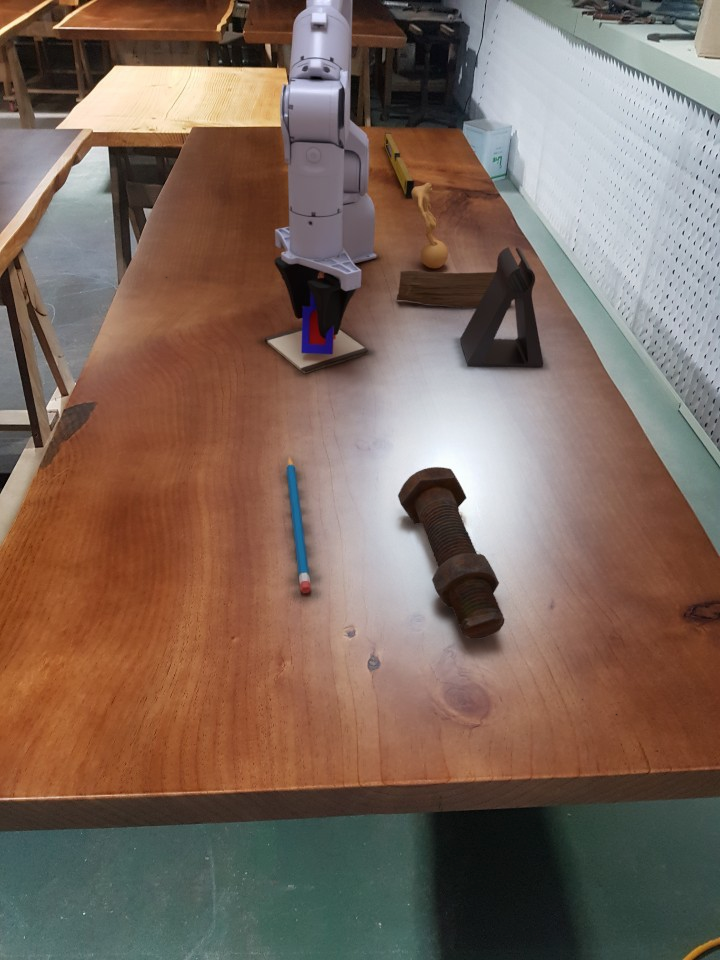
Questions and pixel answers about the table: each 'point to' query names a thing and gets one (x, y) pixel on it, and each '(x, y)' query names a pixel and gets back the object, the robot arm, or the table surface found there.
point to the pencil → (298, 529)
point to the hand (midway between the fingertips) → (316, 325)
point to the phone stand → (490, 314)
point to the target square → (307, 362)
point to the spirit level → (399, 165)
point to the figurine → (429, 229)
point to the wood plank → (444, 288)
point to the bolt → (453, 551)
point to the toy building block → (315, 332)
